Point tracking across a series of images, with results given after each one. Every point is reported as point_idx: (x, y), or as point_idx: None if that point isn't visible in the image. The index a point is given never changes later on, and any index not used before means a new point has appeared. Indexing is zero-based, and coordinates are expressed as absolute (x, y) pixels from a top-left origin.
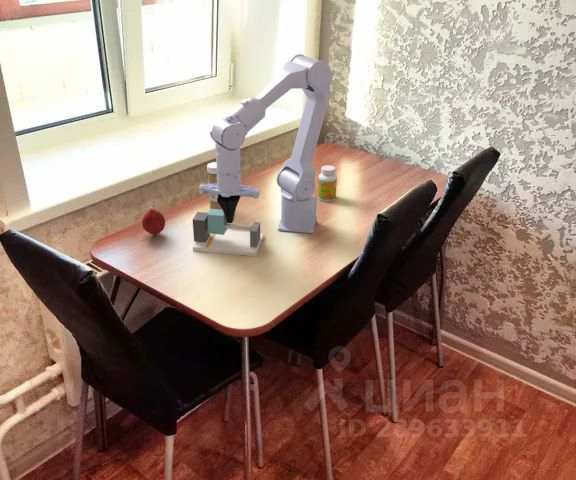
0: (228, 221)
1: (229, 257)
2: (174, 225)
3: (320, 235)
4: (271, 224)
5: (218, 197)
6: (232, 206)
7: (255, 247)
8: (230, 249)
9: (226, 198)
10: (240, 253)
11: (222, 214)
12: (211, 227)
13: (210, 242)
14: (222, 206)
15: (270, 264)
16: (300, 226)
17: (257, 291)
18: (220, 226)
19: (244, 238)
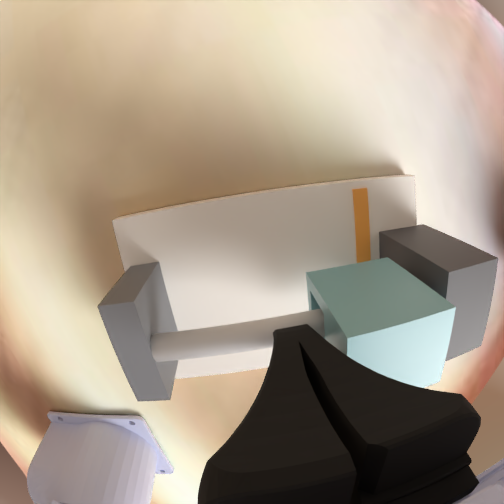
0: (298, 330)
1: (230, 164)
2: None
3: (30, 404)
4: (184, 439)
5: (461, 455)
6: (271, 425)
7: (134, 265)
8: (241, 206)
9: (375, 489)
10: (187, 204)
11: (359, 354)
12: (389, 274)
13: (358, 236)
14: (389, 389)
15: (48, 181)
16: (76, 430)
17: (51, 5)
18: (341, 290)
19: (219, 325)
